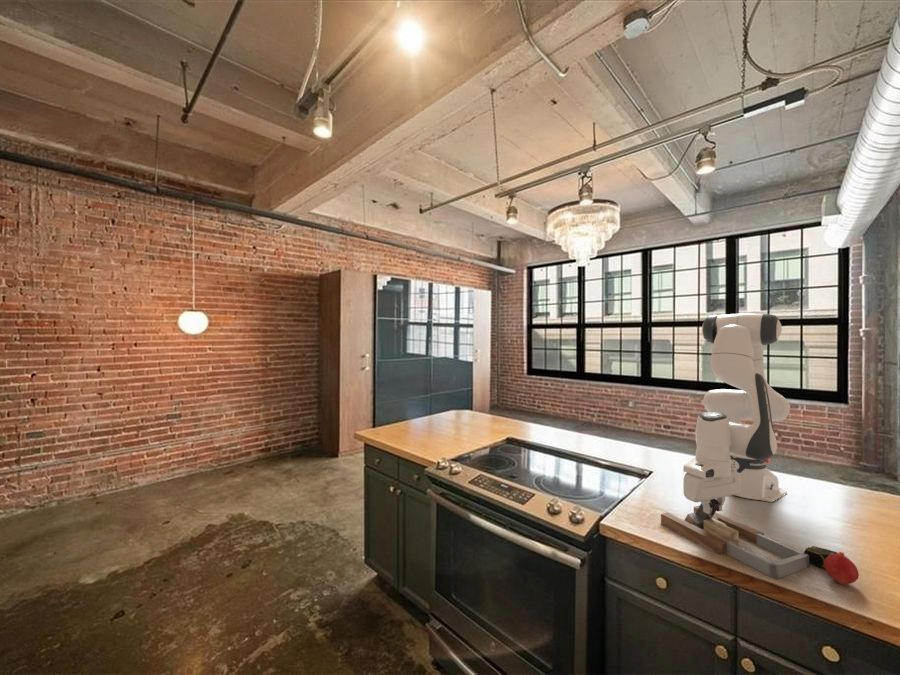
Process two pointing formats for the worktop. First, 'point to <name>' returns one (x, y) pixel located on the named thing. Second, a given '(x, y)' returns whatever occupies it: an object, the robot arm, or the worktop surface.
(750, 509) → the worktop surface
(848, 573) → the onion
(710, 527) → the tan wooden cube
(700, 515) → the grey t-shaped block
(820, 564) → the tape measure
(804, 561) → the tray
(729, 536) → the chip
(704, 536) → the slot rails
